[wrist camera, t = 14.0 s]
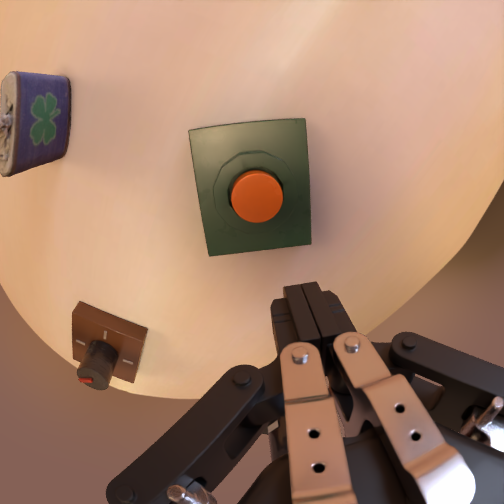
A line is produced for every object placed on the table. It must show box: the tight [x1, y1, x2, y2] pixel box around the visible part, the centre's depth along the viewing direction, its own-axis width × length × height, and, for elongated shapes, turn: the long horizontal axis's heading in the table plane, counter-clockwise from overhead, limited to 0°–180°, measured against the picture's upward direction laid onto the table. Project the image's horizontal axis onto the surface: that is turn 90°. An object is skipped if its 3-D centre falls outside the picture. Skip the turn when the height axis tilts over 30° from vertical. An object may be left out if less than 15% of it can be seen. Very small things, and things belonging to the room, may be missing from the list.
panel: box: [72, 301, 148, 383], centre depth 33 cm, size 10×10×3 cm
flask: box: [0, 71, 71, 177], centre depth 16 cm, size 9×3×11 cm, turn 173°
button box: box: [188, 118, 311, 256], centre depth 24 cm, size 12×10×4 cm
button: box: [231, 170, 283, 223], centre depth 22 cm, size 4×4×2 cm
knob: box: [77, 341, 118, 390], centre depth 29 cm, size 4×4×5 cm
